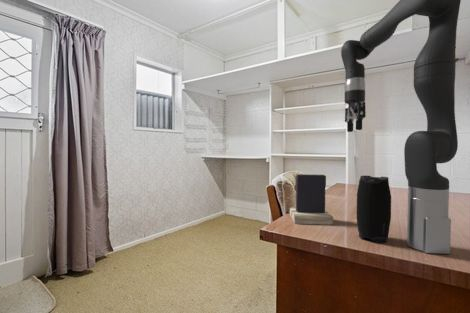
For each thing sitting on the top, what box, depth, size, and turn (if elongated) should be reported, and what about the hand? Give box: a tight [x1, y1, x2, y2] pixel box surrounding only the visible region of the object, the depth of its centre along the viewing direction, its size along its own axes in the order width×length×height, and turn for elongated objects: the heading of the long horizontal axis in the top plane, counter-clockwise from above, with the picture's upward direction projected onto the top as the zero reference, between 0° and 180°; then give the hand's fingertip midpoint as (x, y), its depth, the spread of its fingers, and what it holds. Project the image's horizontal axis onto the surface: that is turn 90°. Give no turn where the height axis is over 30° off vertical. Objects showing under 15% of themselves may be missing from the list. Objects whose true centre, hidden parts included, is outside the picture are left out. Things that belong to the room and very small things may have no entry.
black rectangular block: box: [295, 173, 327, 213], centre depth 99 cm, size 11×4×15 cm, turn 85°
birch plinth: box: [289, 206, 334, 226], centre depth 100 cm, size 14×14×3 cm
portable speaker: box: [356, 175, 392, 244], centre depth 77 cm, size 9×9×20 cm
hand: (354, 130), depth 100 cm, fingers open, 8 cm apart
